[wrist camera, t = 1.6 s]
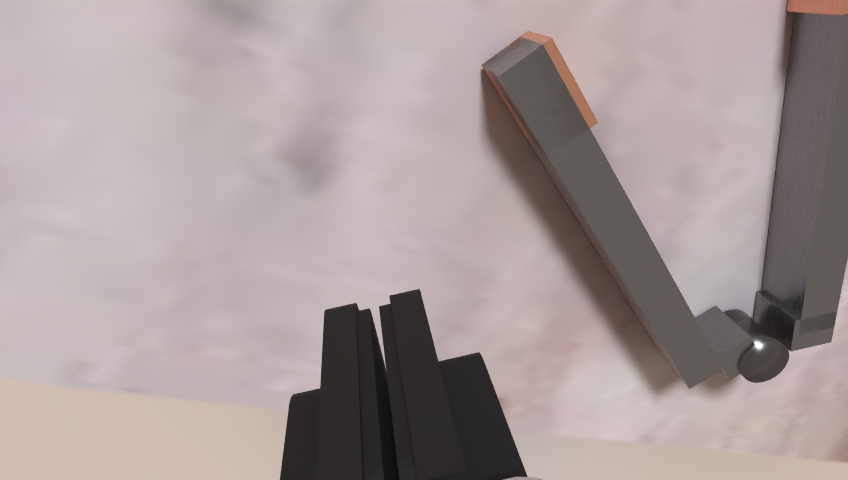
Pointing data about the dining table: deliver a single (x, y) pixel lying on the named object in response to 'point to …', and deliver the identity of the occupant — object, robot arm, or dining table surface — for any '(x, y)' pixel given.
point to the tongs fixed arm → (809, 183)
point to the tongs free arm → (621, 221)
